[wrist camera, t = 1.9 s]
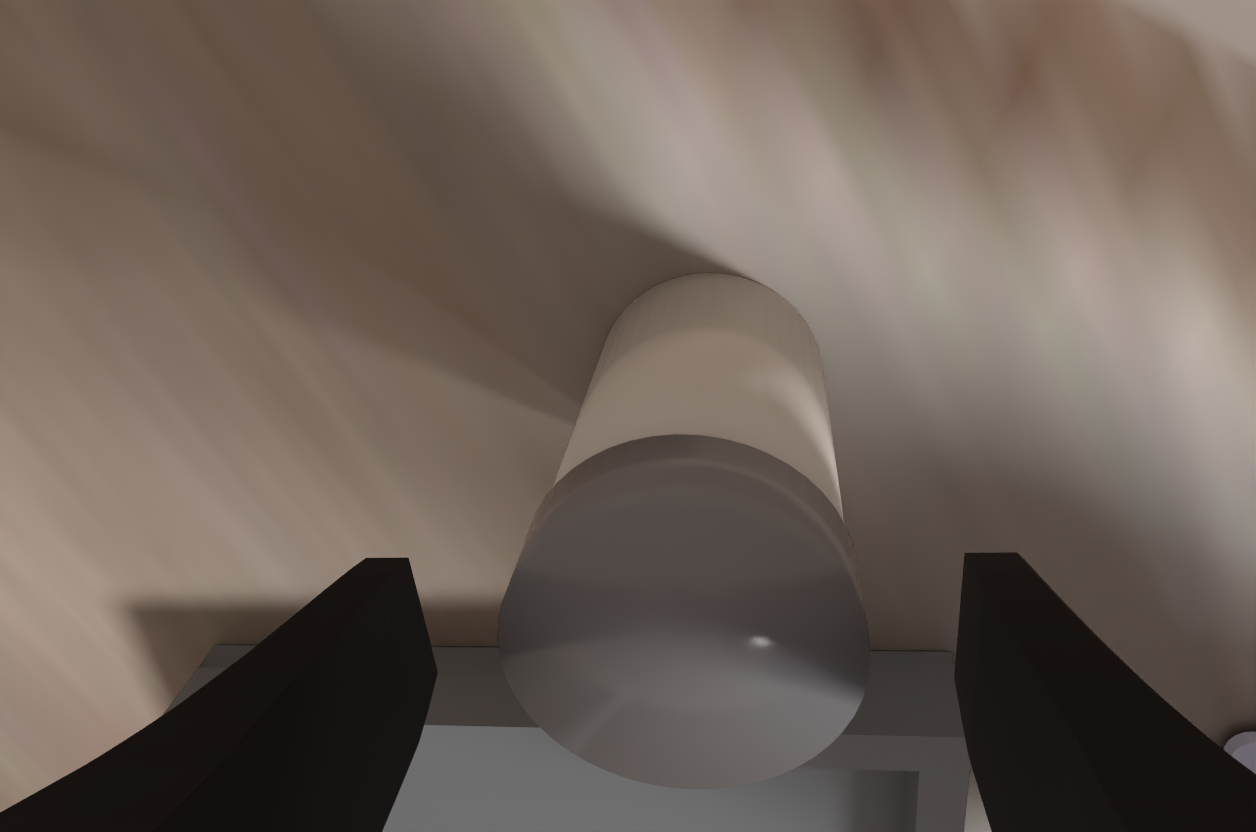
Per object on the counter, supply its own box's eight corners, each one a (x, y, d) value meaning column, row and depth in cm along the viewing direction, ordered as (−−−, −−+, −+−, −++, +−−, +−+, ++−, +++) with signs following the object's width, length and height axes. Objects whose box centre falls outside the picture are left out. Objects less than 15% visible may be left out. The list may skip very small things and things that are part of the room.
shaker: (827, 261, 17) (875, 499, 10) (828, 475, 19) (866, 794, 12) (582, 274, 18) (467, 506, 11) (608, 479, 20) (526, 783, 13)
